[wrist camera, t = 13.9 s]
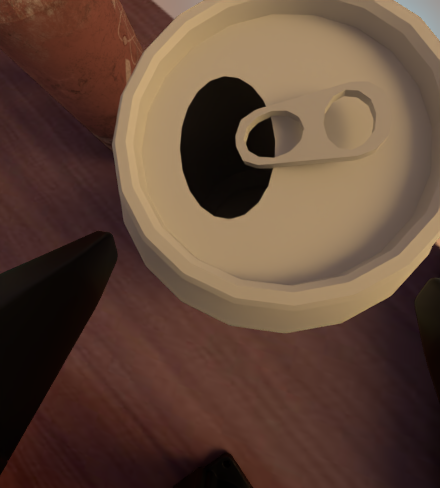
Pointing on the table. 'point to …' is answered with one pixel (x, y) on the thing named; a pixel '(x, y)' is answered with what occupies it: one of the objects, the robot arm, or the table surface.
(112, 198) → the table surface
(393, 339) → the table surface
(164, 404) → the table surface
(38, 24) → the can
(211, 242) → the can
